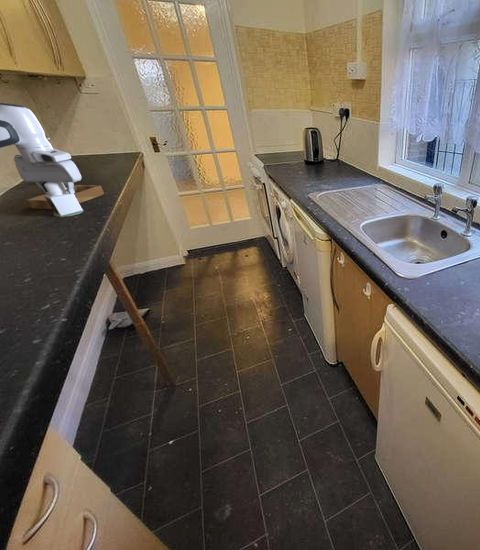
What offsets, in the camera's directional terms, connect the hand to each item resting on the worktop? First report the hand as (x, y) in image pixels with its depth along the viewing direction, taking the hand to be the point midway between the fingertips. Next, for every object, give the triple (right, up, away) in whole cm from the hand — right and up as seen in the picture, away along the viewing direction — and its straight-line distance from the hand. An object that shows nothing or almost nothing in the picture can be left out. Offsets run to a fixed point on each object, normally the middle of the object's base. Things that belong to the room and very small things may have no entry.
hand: (60, 193), depth 113 cm
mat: (-1, -7, +4) cm, 8 cm away
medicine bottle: (-1, -6, +4) cm, 8 cm away
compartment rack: (-12, +1, +16) cm, 20 cm away
